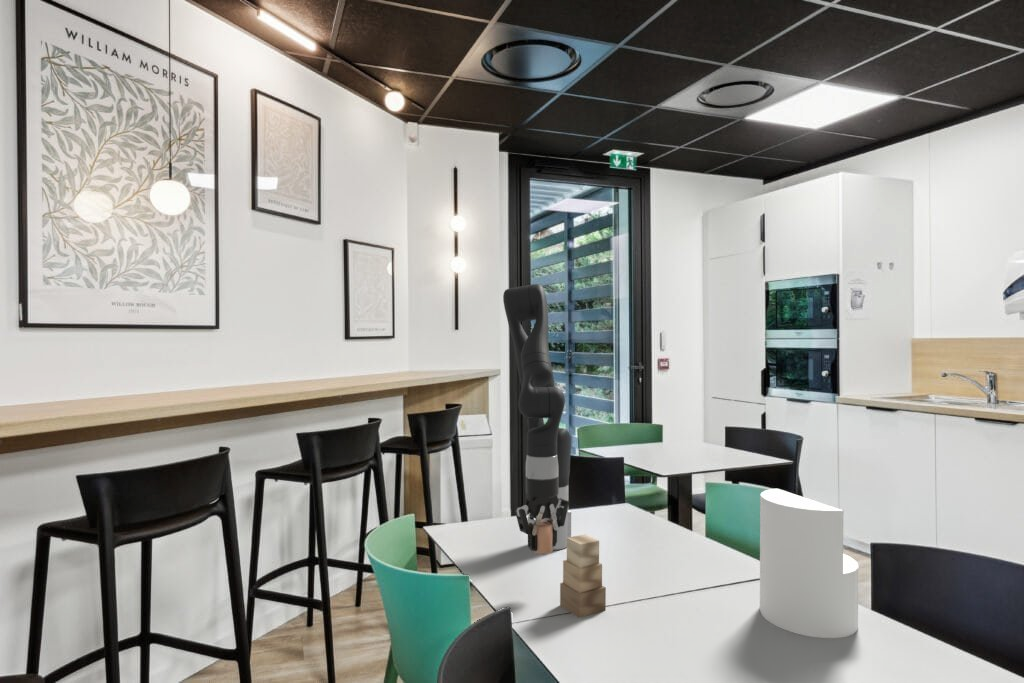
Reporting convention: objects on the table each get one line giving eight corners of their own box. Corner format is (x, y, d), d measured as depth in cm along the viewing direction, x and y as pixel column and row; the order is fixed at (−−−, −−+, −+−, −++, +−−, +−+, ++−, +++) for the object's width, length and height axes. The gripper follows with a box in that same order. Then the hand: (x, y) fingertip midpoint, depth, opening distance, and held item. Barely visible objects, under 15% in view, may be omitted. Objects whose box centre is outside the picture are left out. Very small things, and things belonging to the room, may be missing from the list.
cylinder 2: (796, 642, 120) (797, 513, 120) (742, 601, 138) (743, 489, 138) (880, 633, 124) (881, 508, 124) (816, 595, 142) (817, 486, 142)
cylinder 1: (544, 545, 146) (544, 520, 146) (556, 551, 142) (556, 525, 142) (528, 549, 143) (528, 523, 143) (540, 555, 139) (540, 528, 139)
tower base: (585, 598, 140) (585, 576, 140) (605, 610, 134) (605, 587, 134) (560, 605, 136) (560, 582, 136) (579, 618, 130) (579, 594, 130)
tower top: (584, 556, 138) (585, 534, 138) (599, 563, 134) (599, 540, 134) (566, 560, 136) (566, 537, 136) (580, 567, 132) (580, 544, 132)
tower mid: (584, 577, 139) (585, 555, 139) (602, 587, 134) (602, 564, 134) (563, 583, 136) (563, 560, 136) (579, 592, 131) (579, 569, 131)
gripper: (557, 466, 149) (557, 537, 149) (506, 475, 141) (507, 549, 142) (576, 473, 143) (577, 546, 143) (525, 481, 135) (525, 559, 135)
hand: (542, 547), depth 142 cm, fingers closed on cylinder 1, 4 cm apart
